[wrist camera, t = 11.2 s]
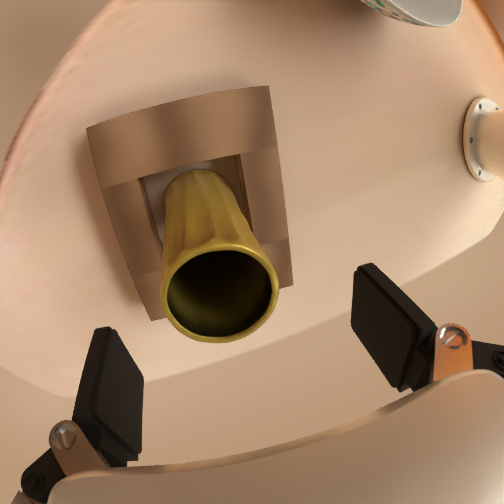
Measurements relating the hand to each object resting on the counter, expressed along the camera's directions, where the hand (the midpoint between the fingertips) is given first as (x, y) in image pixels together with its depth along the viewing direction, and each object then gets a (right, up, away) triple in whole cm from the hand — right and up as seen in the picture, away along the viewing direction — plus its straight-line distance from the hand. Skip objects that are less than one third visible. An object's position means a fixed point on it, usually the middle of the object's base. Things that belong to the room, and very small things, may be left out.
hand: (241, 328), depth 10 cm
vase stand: (-4, +7, +14) cm, 16 cm away
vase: (-4, +7, +14) cm, 17 cm away
